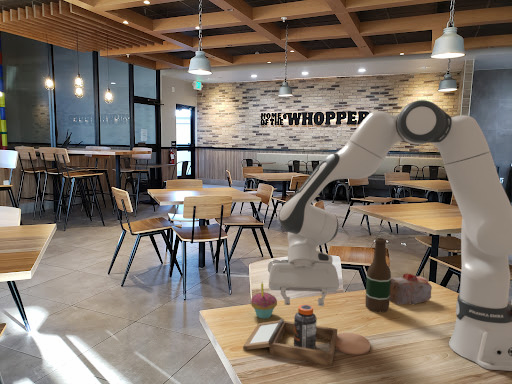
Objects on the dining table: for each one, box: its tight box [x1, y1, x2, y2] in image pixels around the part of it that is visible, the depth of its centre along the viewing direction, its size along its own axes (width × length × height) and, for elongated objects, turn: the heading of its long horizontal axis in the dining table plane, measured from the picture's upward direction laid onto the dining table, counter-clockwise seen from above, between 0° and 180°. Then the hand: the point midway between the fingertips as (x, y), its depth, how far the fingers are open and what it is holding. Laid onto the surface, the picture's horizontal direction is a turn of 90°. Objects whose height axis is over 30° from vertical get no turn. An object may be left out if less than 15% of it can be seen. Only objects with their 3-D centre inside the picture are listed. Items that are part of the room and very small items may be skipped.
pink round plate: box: [335, 332, 371, 356], centre depth 104 cm, size 10×10×1 cm
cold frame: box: [268, 318, 338, 367], centre depth 103 cm, size 16×14×4 cm
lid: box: [242, 319, 280, 351], centre depth 106 cm, size 7×14×3 cm, turn 163°
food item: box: [389, 273, 433, 305], centre depth 135 cm, size 14×8×10 cm, turn 105°
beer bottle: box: [365, 237, 392, 313], centre depth 127 cm, size 8×8×24 cm
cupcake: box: [250, 282, 278, 320], centre depth 121 cm, size 9×8×12 cm
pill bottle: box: [293, 304, 317, 350], centre depth 102 cm, size 6×6×11 cm
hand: (304, 304), depth 106 cm, fingers open, 8 cm apart
